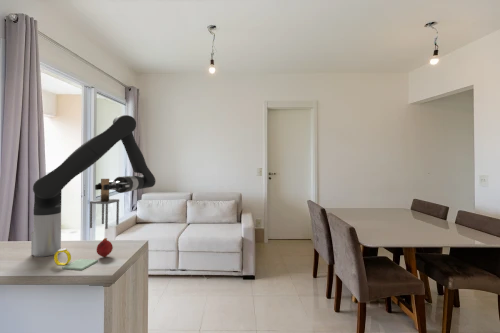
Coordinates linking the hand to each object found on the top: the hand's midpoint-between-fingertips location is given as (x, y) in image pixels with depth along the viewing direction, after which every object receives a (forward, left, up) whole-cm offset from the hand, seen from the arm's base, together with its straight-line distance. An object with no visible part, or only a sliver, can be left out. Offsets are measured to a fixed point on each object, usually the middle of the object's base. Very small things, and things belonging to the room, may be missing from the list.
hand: (100, 187), depth 100 cm
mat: (-4, -6, -30) cm, 30 cm away
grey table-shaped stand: (0, +3, -17) cm, 17 cm away
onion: (0, +3, -30) cm, 30 cm away
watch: (-11, -6, -30) cm, 32 cm away
